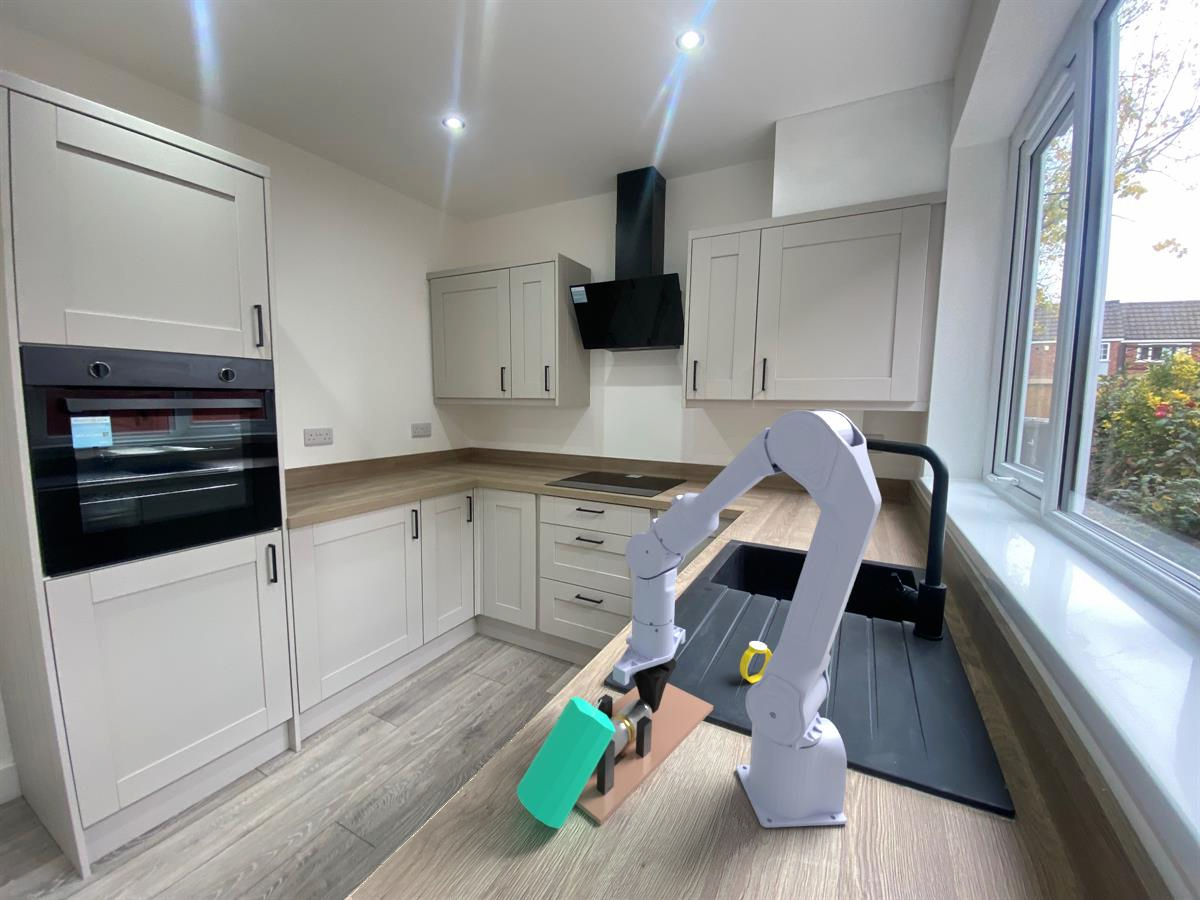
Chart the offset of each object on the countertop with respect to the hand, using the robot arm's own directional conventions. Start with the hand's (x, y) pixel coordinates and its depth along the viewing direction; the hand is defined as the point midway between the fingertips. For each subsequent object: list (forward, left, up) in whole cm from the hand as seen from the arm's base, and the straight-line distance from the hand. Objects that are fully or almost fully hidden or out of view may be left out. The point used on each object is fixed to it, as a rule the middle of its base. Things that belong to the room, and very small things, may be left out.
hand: (649, 708), depth 65 cm
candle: (+14, +15, 0) cm, 21 cm away
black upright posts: (+7, +7, -1) cm, 10 cm away
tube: (+5, +5, -1) cm, 7 cm away
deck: (+3, +3, -2) cm, 5 cm away
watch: (-19, -9, -2) cm, 21 cm away
